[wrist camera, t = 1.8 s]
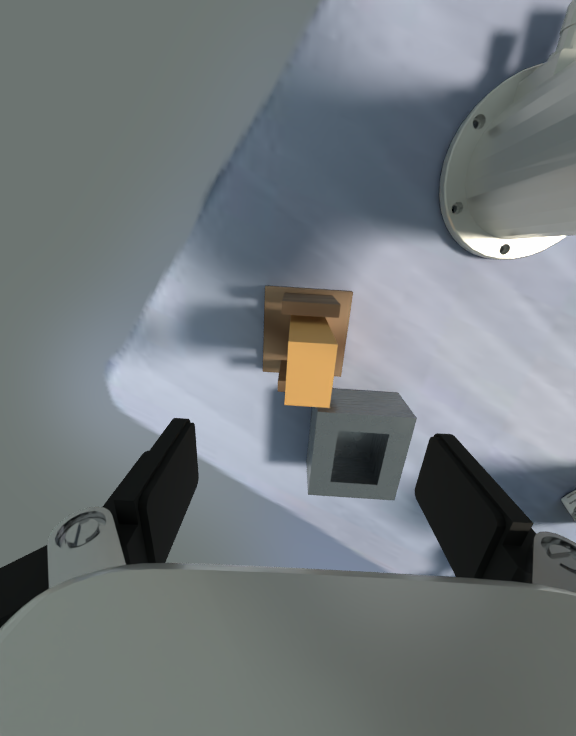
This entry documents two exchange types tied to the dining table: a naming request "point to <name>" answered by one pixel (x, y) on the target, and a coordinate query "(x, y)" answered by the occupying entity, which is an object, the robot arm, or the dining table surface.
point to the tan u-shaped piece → (305, 304)
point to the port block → (359, 444)
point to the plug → (310, 362)
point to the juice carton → (570, 503)
